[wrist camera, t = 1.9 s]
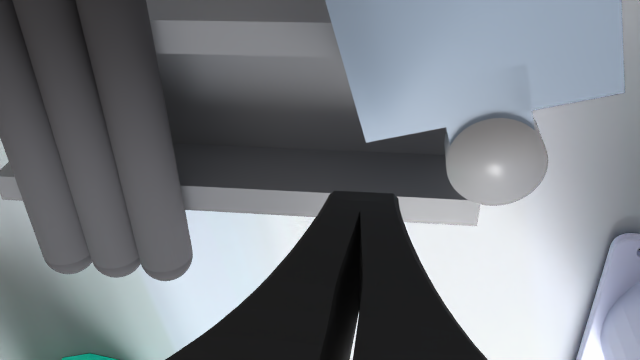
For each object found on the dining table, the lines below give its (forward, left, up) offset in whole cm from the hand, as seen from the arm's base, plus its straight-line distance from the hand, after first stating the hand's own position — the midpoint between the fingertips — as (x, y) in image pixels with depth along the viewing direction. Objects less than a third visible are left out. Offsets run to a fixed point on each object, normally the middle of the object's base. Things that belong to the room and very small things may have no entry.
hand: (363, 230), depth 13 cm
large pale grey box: (+4, 0, -7) cm, 9 cm away
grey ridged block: (+8, 0, -5) cm, 9 cm away
